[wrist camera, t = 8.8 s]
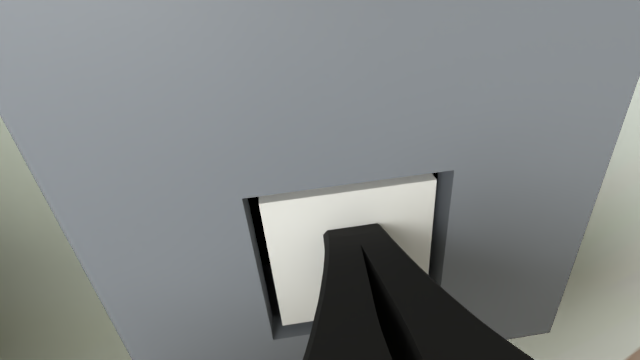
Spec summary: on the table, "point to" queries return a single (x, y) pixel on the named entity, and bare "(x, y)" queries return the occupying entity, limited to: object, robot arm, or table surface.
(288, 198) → the block
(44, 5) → the panel
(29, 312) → the table surface
